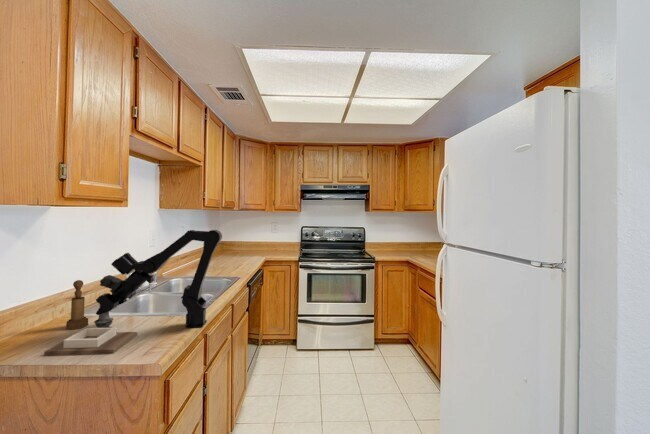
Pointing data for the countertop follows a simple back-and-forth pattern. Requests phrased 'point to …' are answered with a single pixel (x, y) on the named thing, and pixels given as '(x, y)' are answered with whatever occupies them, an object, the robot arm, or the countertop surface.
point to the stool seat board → (92, 342)
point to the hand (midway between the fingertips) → (100, 312)
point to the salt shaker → (104, 320)
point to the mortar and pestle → (77, 309)
